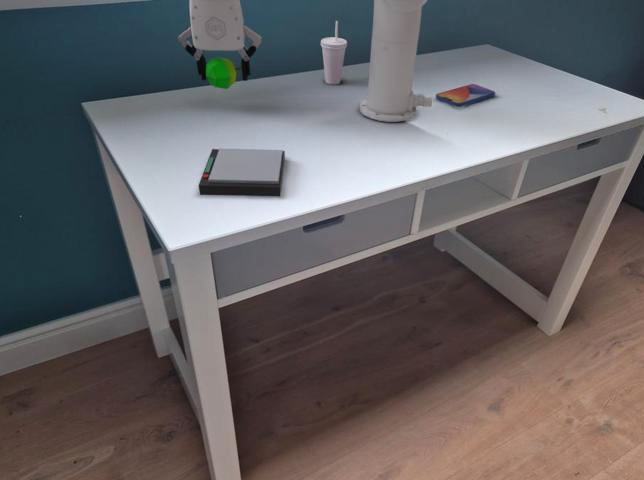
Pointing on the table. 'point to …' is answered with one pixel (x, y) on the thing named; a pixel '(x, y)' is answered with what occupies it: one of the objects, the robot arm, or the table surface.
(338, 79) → the smoothie
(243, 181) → the scale
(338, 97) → the table surface
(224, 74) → the apple
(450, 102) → the smartphone
